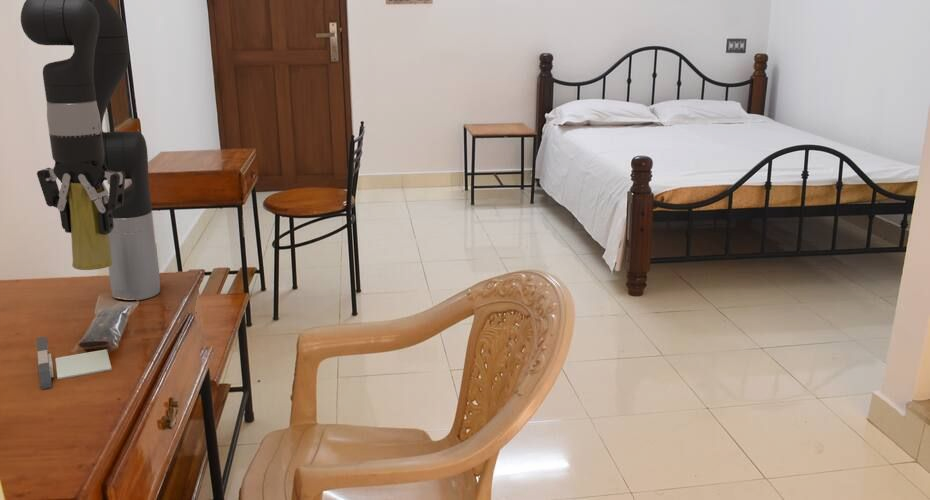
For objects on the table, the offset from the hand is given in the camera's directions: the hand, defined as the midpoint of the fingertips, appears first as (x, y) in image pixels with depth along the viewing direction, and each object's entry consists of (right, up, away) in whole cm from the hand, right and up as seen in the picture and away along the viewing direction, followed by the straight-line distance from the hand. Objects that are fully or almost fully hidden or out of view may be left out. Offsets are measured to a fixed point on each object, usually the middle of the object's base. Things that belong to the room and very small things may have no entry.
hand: (88, 232), depth 131 cm
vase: (0, -6, +2) cm, 6 cm away
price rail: (-7, -23, 0) cm, 24 cm away
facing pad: (-2, -22, +2) cm, 22 cm away
